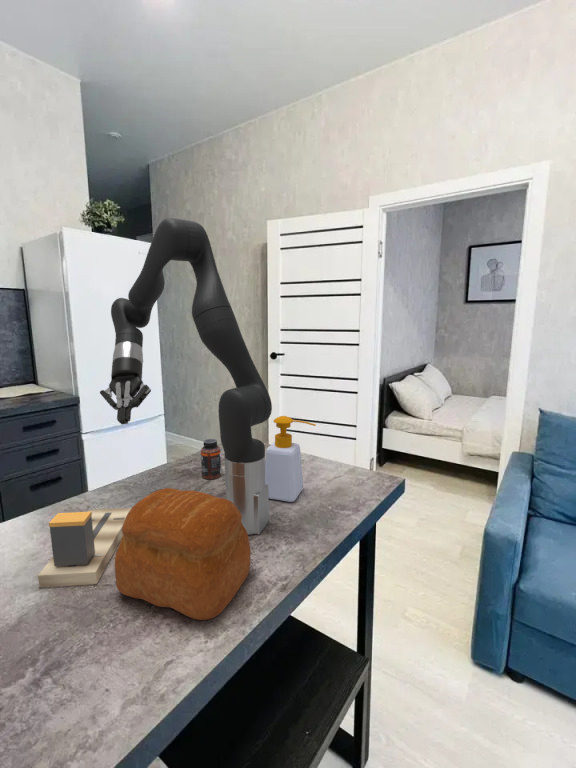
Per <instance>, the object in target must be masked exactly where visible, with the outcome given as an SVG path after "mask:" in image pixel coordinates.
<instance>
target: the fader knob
mask: <svg viewBox="0 0 576 768" xmlns="http://www.w3.org/2000/svg"><path fill="white" fill-rule="evenodd" d="M48 527H49V531H50V533H49V534H50V541H51V549H52V557H53V559H54V566H67V565H84V564H89V562H90V560H91V559H92V557H93V556H94V554H95V547H94V536H93V526H92V512H89V511H78V512H77V511H76V512H73V511H72V512H57V514H56V515H55V516H54V517H53V518H52V519H51V520H50V521H49V522H48Z"/></svg>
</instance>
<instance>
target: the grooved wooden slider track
mask: <svg viewBox="0 0 576 768" xmlns="http://www.w3.org/2000/svg"><path fill="white" fill-rule="evenodd" d="M131 509H132V507H124V508H104V509H101V508H99V509H98V508H97V509H89V510H88V512H92V526H93V536H94V547H95V554H94V556H93V557H92V559H91V560H90V562H89V564H84V565H67V566H54V559H53V556H52V557H51V558H50V560H49V561H48V562H47V563H46V565H45V566H44V567H43V569H42V570H41V571H40V572H39V574H38V575H37V578H38V586H39V589H40V588H42V589H45V588H54V587H55V588H56V587H58V588H59V587H73V586H86V585H88V586H90V585H97V584H98V582H99V581H100V579H101V577H102V575H103V574H104V572H105V570H106V569H107V566H108V564H110V563H109V562H110V561H111V559H112V558H113V555H114V553H116V551H117V549H118V547H119V545H120V542H121V540H122V537H123V533H122V527H123V523H124V521H125V519H126V516H127V514H128V512H129V511H130V510H131Z"/></svg>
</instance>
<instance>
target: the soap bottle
mask: <svg viewBox="0 0 576 768" xmlns="http://www.w3.org/2000/svg"><path fill="white" fill-rule="evenodd" d="M273 423H275V427H276V428H278V429H279V431H280V432H278V433H276V434H275V435H274V442H273V443H272V444H271V445H269V446H268V447H267V449H266V450H265V484H267V485H268V486H269V499H271V500H277V501H283V502H289V503H291V502H295V501H296V500H297V498H298V496H299V495H300V494H301V492H302V491H303V489H304V479H303V466H302V454H301V447H300V444H299V443H297V442H296V443H295V442H292V441H293V440H292V439H293V435H292V434H291V433H288V432H287V429H289V428H290V427H291V426H292V425H291V424H292V423H300V424H301V423H302V424H306V425H310V426H314V427H316V425H317V424H316V423H312V422H310V421H303V420H297V419H293V418H292V417H289V416H287V415H281V416H278V417H275V418H274V419H273Z"/></svg>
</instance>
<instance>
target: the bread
mask: <svg viewBox="0 0 576 768" xmlns="http://www.w3.org/2000/svg"><path fill="white" fill-rule="evenodd" d="M131 508H132V509H131V510H130V511H129V512H128V514H127V516H126V519H125V521H124V523H123V527H122V533H123V537H122V539H121V541H120V543H119V545H118V546H117V548H116V550H115V555H114V556H115V557H114V572H115V573H114V575H115V577H114V578H115V585H116V588H117V590H118V591H119V592H120V593H121V594H123V595H125V596H127V597H130V598H132V599H140V600H144V601H146V602H147V603H149V604H152V605H154V606H156V607H161V608H171V609H173V610H175V611H177V612H178V613H181V614H182V615H184V616H187V617H189V618H190V619H192V620H198V621H199V620H200V621H205V620H211V619H213V618H215V617H217V616H219V615H221V613H223V611H224V610H225V608H226V607H227V606H228V605H229V603H230V602H231V601H232V600H233V598H234V597H235V595H236V593H237V592H238V591H239V589H240V588H241V586H243V583H244V582H245V581H246V579H247V577H248V576H249V572H250V567H251V554H252V553H251V544H250V538H249V535H248V533H247V531H246V529H245V528H244V526H243V524H242V522H241V519H242V515H241V513H240V511H239V510H238V509H237V508H236V506H235V505H234V504H233V503H232V502H231V501H229V500H227V499H226V498H222V497H217V496H215V495H212V494H209V493H207V492H202V491H197V490H191V489H188V490H180V489H176V488H171V487H166V488H162V489H159V490H155V491H153V492H151V493H150V494H148V495H145V497H143V498H141V500H139V501H137V502H136V503H135V504H134V505H133V506H132V507H131Z"/></svg>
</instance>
